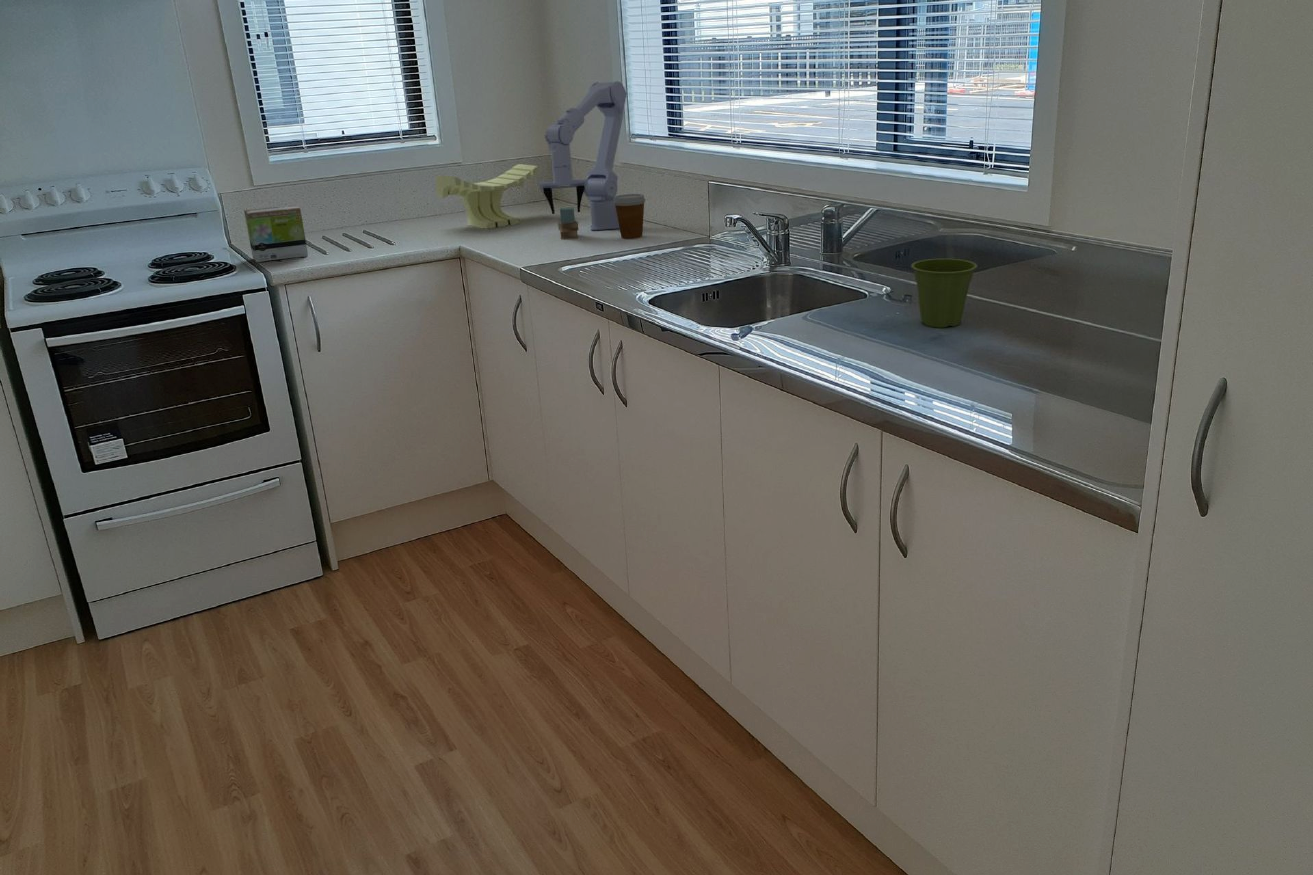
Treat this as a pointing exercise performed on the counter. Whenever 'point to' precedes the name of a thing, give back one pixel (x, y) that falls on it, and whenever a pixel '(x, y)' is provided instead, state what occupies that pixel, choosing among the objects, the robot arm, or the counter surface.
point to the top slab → (568, 226)
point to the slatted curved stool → (485, 195)
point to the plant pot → (942, 290)
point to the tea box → (276, 233)
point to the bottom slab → (569, 234)
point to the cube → (567, 215)
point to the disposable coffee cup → (630, 215)
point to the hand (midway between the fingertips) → (566, 212)
